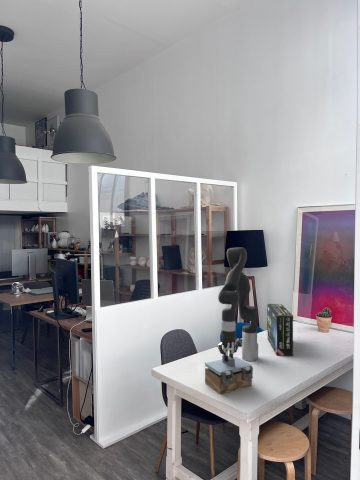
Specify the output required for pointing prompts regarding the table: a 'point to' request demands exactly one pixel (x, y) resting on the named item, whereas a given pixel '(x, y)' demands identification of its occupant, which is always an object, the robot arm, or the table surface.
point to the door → (228, 365)
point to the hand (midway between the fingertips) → (228, 361)
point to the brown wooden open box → (228, 380)
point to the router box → (280, 329)
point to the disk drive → (239, 341)
